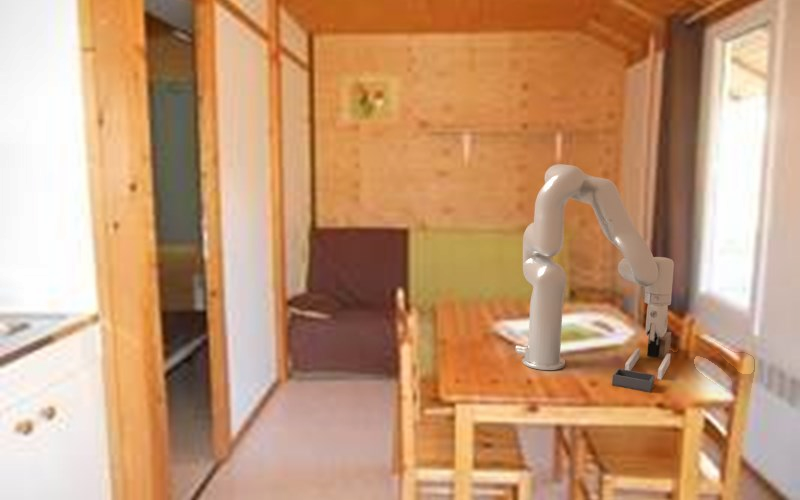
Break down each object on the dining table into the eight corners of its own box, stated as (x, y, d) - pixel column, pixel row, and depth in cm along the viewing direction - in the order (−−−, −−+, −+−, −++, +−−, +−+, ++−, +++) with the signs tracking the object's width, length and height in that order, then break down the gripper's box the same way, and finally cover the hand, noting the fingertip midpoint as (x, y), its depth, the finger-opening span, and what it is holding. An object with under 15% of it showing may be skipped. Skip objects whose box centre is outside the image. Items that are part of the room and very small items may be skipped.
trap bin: (612, 385, 182) (612, 374, 181) (616, 378, 187) (617, 368, 186) (650, 392, 177) (650, 381, 176) (654, 385, 182) (654, 374, 182)
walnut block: (647, 356, 206) (648, 337, 205) (653, 347, 215) (655, 329, 214) (664, 358, 204) (665, 340, 203) (669, 350, 212) (671, 332, 211)
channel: (624, 373, 191) (625, 363, 191) (635, 357, 205) (636, 348, 204) (661, 379, 186) (661, 369, 186) (669, 363, 200) (670, 353, 199)
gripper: (666, 305, 191) (661, 365, 194) (674, 294, 204) (670, 351, 207) (639, 301, 195) (635, 360, 198) (649, 291, 208) (645, 347, 211)
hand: (653, 355), depth 203 cm, fingers closed
